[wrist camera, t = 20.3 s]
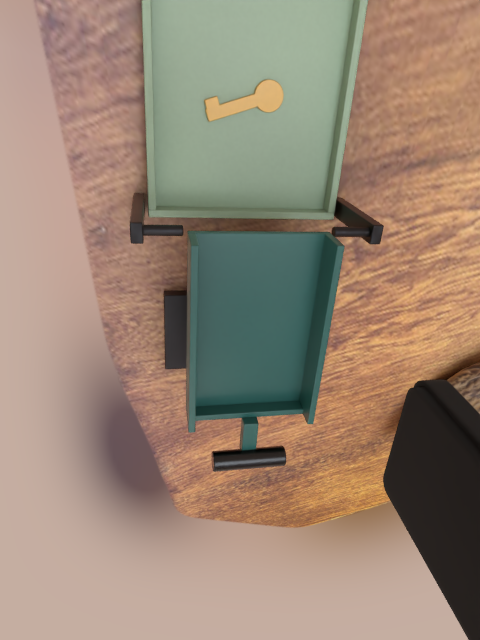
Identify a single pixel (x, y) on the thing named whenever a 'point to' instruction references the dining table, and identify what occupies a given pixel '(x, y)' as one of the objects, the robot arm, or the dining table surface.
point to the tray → (251, 125)
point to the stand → (177, 300)
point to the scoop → (257, 331)
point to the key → (247, 101)
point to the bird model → (468, 384)
